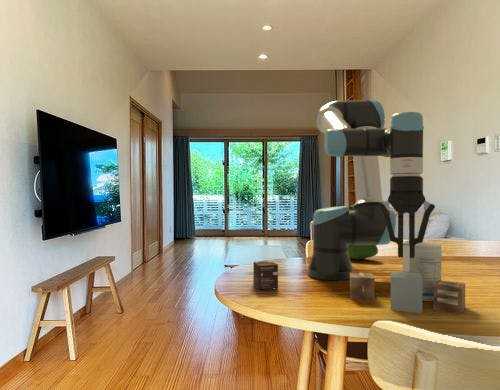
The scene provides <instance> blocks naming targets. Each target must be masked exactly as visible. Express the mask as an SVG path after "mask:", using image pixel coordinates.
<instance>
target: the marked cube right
mask: <svg viewBox="0 0 500 390" xmlns="http://www.w3.org/2000/svg"><path fill="white" fill-rule="evenodd" d="M437 309H438V311H443V310H444V311H443V312H449V313H454V312H455V314H461V315H462V314H463V313H464V311H463V310H465V309H466V283H463V282H458V281H451V280H450V281H448V280H443V279H441V280H438V281H437V282H436V283H435V284H434V301H433V310H437Z"/></svg>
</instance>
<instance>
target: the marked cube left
mask: <svg viewBox="0 0 500 390" xmlns="http://www.w3.org/2000/svg"><path fill="white" fill-rule="evenodd" d="M353 272H354V271H353ZM353 272H350V279H349V296H350V300H354V301H371V302H375V300H376V299H375V287H376V286H375V276H374V274H373V273H371V272H354V273H353Z"/></svg>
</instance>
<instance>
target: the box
mask: <svg viewBox="0 0 500 390" xmlns="http://www.w3.org/2000/svg"><path fill="white" fill-rule="evenodd" d="M252 279H253V280H252V281H253V284H252V285H253V286H254V285H255V286H256V287H257V288H258V289H259V291H261V290H260V289H271V290H274V289H273V288H278V289H279V264H278V263H276V262H274V261H272V260H271V261H265V260H264V261H253V278H252ZM255 286H254V287H255ZM256 287H255V288H256ZM257 288H256V289H257ZM258 289H257V290H258Z"/></svg>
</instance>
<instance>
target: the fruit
mask: <svg viewBox="0 0 500 390" xmlns="http://www.w3.org/2000/svg"><path fill="white" fill-rule="evenodd" d="M378 253H379V249H378V245H377V246H376V245H348V255H349V258H350V260H351V259H352V260H357V261H358V260H364V259H369V258H372V257H373V258H374V257H375V256H376V255H378Z"/></svg>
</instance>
